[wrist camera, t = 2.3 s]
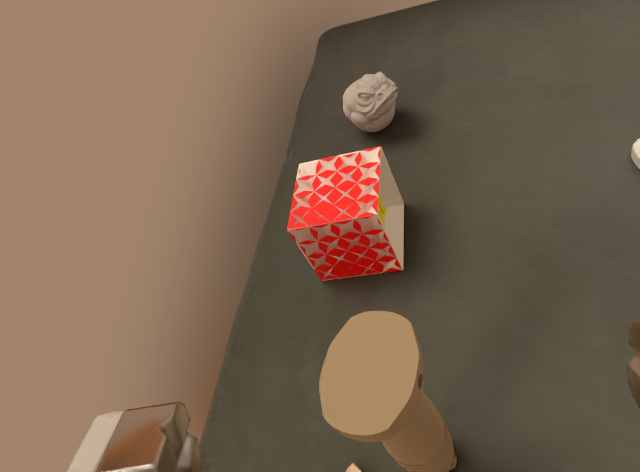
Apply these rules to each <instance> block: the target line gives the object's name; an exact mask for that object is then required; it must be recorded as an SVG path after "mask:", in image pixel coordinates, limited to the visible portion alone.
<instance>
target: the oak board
mask: <svg viewBox="0 0 640 472" xmlns="http://www.w3.org/2000/svg"><path fill="white" fill-rule="evenodd" d="M345 472H362V471H361V469H360V468H359V467H358V466H357V465H356V464H354V463H352V464H351V465H350V466H349V467H348V469H347V470H346V471H345Z"/></svg>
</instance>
